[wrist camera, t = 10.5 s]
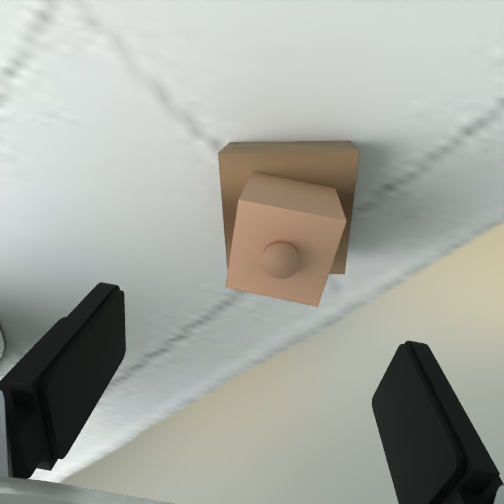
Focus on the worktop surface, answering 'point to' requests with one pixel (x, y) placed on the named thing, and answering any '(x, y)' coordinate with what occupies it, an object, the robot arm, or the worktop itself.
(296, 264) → the painted brick
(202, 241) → the worktop surface
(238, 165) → the walnut block
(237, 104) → the worktop surface
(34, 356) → the robot arm
